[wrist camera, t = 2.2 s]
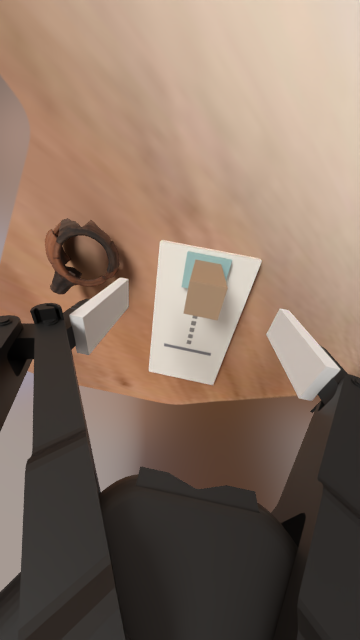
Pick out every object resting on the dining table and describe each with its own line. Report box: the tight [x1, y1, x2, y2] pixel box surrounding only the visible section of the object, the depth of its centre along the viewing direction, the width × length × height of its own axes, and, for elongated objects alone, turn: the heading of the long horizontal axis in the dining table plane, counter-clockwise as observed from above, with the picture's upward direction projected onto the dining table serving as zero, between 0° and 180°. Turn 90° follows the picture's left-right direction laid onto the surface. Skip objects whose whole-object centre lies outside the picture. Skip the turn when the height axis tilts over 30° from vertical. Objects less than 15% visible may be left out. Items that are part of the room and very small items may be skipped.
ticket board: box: [149, 240, 262, 385], centre depth 31 cm, size 14×26×2 cm, turn 171°
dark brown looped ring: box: [45, 219, 119, 294], centre depth 26 cm, size 12×10×8 cm
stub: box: [182, 251, 232, 320], centre depth 21 cm, size 6×5×10 cm
